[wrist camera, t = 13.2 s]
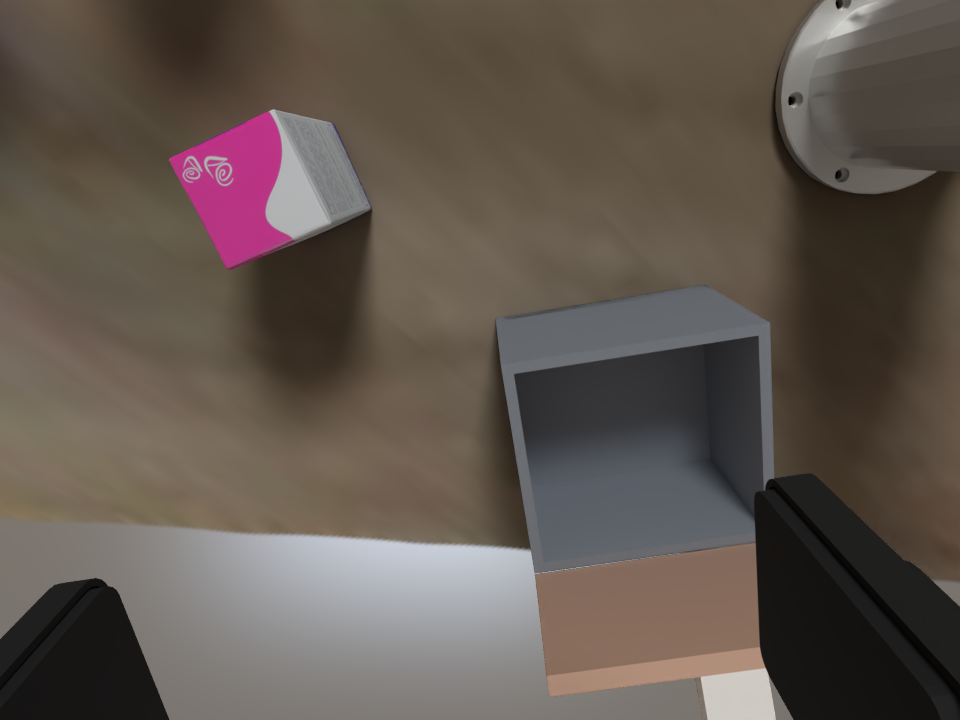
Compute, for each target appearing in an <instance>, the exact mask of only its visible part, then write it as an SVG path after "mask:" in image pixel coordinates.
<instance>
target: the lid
mask: <svg viewBox="0 0 960 720" xmlns="http://www.w3.org/2000/svg"><path fill="white" fill-rule="evenodd" d="M535 578H536V587H537V595H538V604H539V614H540V622H541V631H542V640H543V648H544V658H545V666H546V675H547V682H548V688H549V695H550V697H554V696H561V695H569V694H576V693H584V692H591V691H599V690H606V689H613V688H621V687H629V686H636V685H643V684H651V683H658V682H665V681H673V680H681V679H688V678H695V679H696V685H697V691H698V697H699V703H700V709H701V715H702V720H776V718H775V712H774V706H773V700H772V695H771V688H770V682H769V677H768V672H767V670H766V668H765V665H764V662H763V659H762V655H761V651H760V641H759V616H758V591H757V565H756V543H751V544H744V545H737V546H730V547H723V548H716V549H709V550H702V551H695V552H688V553H681V554H674V555H667V556H660V557H653V558H646V559H639V560H633V561H625V562H618V563H611V564H605V565H597V566H590V567H583V568H576V569H569V570H562V571H555V572H548V573H541V574H535Z"/></svg>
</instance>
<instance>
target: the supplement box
mask: <svg viewBox="0 0 960 720" xmlns="http://www.w3.org/2000/svg"><path fill="white" fill-rule="evenodd" d="M169 161H170V163H171V165H172V167H173V169H174V171H175V173H176V174H177V176H178V178H179V180H180V182H181V184H182V185H183V187H184V189H185V191H186V193H187V194H188V196H189V198H190V200H191V201H192V203H193V205H194V207H195V209H196V211H197V213H198V215H199V217H200V219H201V221H202V223H203V225H204V227H205V228H206V230H207V232H208V234H209V236H210V238H211V240H212V242H213V244H214V246H215V248H216V250H217V252H218V254H219V256H220V257H221V259H222V261H223V263H224V265H225V267H226V269H234V268H236V267H239V266H241V265H244V264H246V263H249V262H251V261H253V260H256V259H258V258H261V257H263V256H265V255H268V254H270V253H273V252H275V251H278V250H280V249H283V248H285V247H288V246H291V245H293V244H296V243H299V242H301V241H303V240H306V239H308V238H311V237H313V236H316V235H318V234H320V233H323V232H325V231H327V230H329V229H332V228H334V227H336V226H338V225H341V224H343V223H345V222H347V221H349V220H351V219H354V218H356V217H358V216H360V215H362V214H364V213H366V212H368V211H370V210H372V207H371V205H370V202H369V200H368V198H367V196H366V194H365V191H364V189H363V187H362V185H361V183H360V181H359V178H358V176H357V174H356V172H355V169H354V167H353V165H352V163H351V161H350V158H349V156H348V154H347V152H346V149H345V147H344V145H343V143H342V141H341V138H340V136H339V134H338V132H337V130H336V127H335V126H334V124H333V123H330V122H326V121H321V120H317V119H312V118H308V117H304V116H300V115H295V114H291V113H286V112H282V111H278V110H271V111H268V112H266V113H264V114H262V115H259V116H257V117H255V118H253V119H251V120H249V121H247V122H245V123H243V124H241V125H239V126H236V127H234V128H232V129H230V130H228V131H226V132H224V133H222V134H220V135H218V136H215V137H213V138H211V139H209V140H207V141H205V142H203V143H201V144H199V145H197V146H195V147H193V148H190V149H188V150H186V151H184V152H182V153H180V154H178V155H176V156H174V157H171V158H170V159H169Z"/></svg>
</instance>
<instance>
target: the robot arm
mask: <svg viewBox="0 0 960 720" xmlns="http://www.w3.org/2000/svg"><path fill="white" fill-rule="evenodd" d="M836 1H837V2H838V3H839V7H838V9H837V8H836V4H835V3H836ZM789 97H791V98H792V103H791V105H789V104H788V99H789ZM775 109H776V115H777V121H778V127H779V131H780V133H781V136H782V139H783V141H784V144H785V147H786V148H787V150H788V152H789V153H790V155H791V156H792V158H793V159H794V161H795V162H796V164H797V165H798V166H799V167H800V168H802V169H803V170H804V171H805V172H806V173H807V174H808V175H809V176H810V177H812V178H813V179H815V180H817V181H818V182H820V183H821V184H823V185H825V186H828V187H831V188H833V189H836V190H839V191H844V192H850V193H856V194H881V193H887V192H893V191H897V190H900V189H903V188H906V187H909V186H911V185H914V184H917V183H918V182H920V181H922V180H924V179H926V178H927V177H929V176H931V175H933V174H935V173H936V172H937V171H950V172H960V0H821V1H819V2H818V3H817V4H816V5H815V6H814V7H813V8H812V10H811V11H810V12H809V13H808V15H807V16H806V17H805V18H804V20H803V21H802V22H801V23H800V25H799V26H798V28H797V30H796V32H795V33H794V35H793V37H792V39H791V40H790V42H789V44H788V46H787V49H786V52H785V54H784V57H783V60H782V62H781V65H780V69H779V74H778V79H777V84H776V105H775ZM836 172H838V176H837V177H836V178H835V174H836ZM754 515H755V540H756V565H757V591H758V616H759V641H760V651H761V655H762V659H763V662H764V665H765V668H766V670H767V672H768V674H769V676H770V678H771V680H772V682H773V683H774V685H775V687H776V689H777V690H778V693H779V694H780V696H781V698H782V700H783V701H784V703H785V705H786V707H787V709H788V710H789V712H790V714H791V716H792V717H793V719H794V720H960V607H959V606H958V605H957V604H956V603H955V602H954V601H953V600H952V599H951V598H950V597H949V596H948V595H947V594H946V593H945V592H943V591H942V590H941V589H940V588H939V587H938V586H937V585H936V584H935V583H934V582H933V581H932V580H931V579H930V578H929V577H928V576H927V575H925V574H924V573H923V572H922V571H921V570H920V569H919V568H917V567H916V566H915V565H913V564H912V563H911V562H908V561H904V560H903V559H902V558H901V557H900V556H899V555H898V554H896V553H895V552H894V551H893V550H892V549H891V548H890V547H889V546H888V545H887V544H886V543H885V542H884V541H883V540H882V539H881V538H880V537H879V536H878V535H877V534H876V533H875V532H874V531H872V530H871V529H870V528H869V527H868V526H867V525H866V524H865V523H864V522H863V521H862V520H861V519H860V518H859V517H858V516H857V515H856V514H855V513H854V512H853V511H852V510H851V509H850V508H848V507H847V506H846V505H845V504H844V503H843V502H842V501H841V500H840V499H839V498H838V497H837V496H836V495H835V494H834V493H833V492H832V491H831V490H830V489H829V488H828V487H827V486H826V485H824V484H823V483H822V482H821V481H820V480H819V479H818V478H817V477H816V476H814V475H813V474H801V475H794V476H787V477H780V478H774V479H769V480H768V481H767V483H766V486H765V490H764V491H757V492H756V493H755V496H754ZM0 720H169V718H168V715H167V713H166V710H165V708H164V705H163V703H162V700H161V698H160V695H159V693H158V690H157V688H156V685H155V683H154V681H153V678H152V675H151V673H150V671H149V668H148V665H147V663H146V660H145V658H144V655H143V653H142V650H141V648H140V645H139V643H138V640H137V638H136V636H135V633H134V630H133V628H132V625H131V623H130V620H129V618H128V615H127V613H126V610H125V608H124V605H123V603H122V600H121V598H120V595H119V594H118V592H117V590H116V589H114V588H113V587H108V586H107V584H106V583H105V582H104V581H103V580H101V579H97V578H94V579H87V580H80V581H74V582H67V583H61V584H57V585H54V586H53V587H52V588H50V589H49V590H48V591H47V592H46V593H45V594H44V595H43V596H42V597H41V598H40V599H39V600H38V601H37V602H36V603H35V604H34V605H33V606H32V607H31V608H30V609H29V610H28V611H27V612H26V613H25V614H24V615H23V616H22V618H20V620H19V621H18V622H17V623H16V624H15V625H14V626H13V627H12V628H11V629H10V630H9V631H8V632H7V633H6V634H5V635H4V636H3V637H2V638H1V639H0Z"/></svg>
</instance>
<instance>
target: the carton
mask: <svg viewBox="0 0 960 720" xmlns="http://www.w3.org/2000/svg"><path fill="white" fill-rule="evenodd" d="M496 327H497V336H498V344H499V353H500V362H501V369H502V375H503V381H504V387H505V394H506V400H507V406H508V412H509V418H510V424H511V430H512V436H513V443H514V449H515V455H516V461H517V467H518V473H519V479H520V485H521V492H522V498H523V504H524V510H525V516H526V522H527V528H528V534H529V540H530V547H531V553H532V559H533V565H534V571H535V573H541V572H548V571H555V570H561V569H568V568H576V567H582V566H590V565H596V564H604V563H611V562H617V561H625V560H630V559H631V560H632V559H639V558H646V557H652V556H659V555H667V554H674V553H681V552H688V551H695V550H702V549H709V548H716V547H723V546H730V545H737V544H744V543H751V542H756V540H755V515H754V496H755V493H756V492H757V491H764V490H765V486H766V483H767V481H768V480H769V479H774V448H773V412H772V377H771V341H770V322H768V321H766V320H765V319H763V318H761V317H760V316H758V315H756V314H754V313H753V312H751V311H749V310H748V309H746V308H744V307H742V306H741V305H739V304H737V303H736V302H734V301H732V300H730V299H729V298H727V297H725V296H724V295H722V294H720V293H718V292H717V291H715V290H713V289H712V288H710V287H708V286H707V285H701V286H695V287H688V288H682V289H676V290H670V291H664V292H657V293H651V294H645V295H639V296H633V297H626V298H620V299H614V300H608V301H602V302H595V303H589V304H583V305H577V306H571V307H564V308H558V309H552V310H546V311H540V312H533V313H527V314H521V315H515V316H509V317H502V318H496Z"/></svg>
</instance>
